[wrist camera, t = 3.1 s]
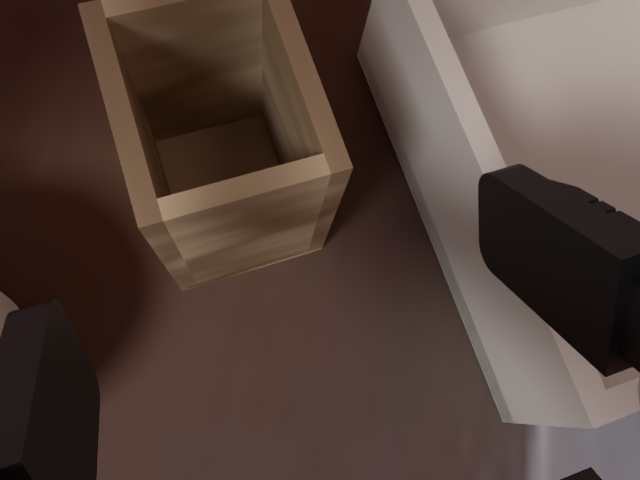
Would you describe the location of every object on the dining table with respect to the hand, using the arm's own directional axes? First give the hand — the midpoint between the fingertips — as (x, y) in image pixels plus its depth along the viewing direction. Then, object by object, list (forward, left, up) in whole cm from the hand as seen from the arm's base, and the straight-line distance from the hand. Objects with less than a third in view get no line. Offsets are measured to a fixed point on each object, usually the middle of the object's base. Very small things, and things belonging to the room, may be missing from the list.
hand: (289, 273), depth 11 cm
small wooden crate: (0, +6, -11) cm, 12 cm away
